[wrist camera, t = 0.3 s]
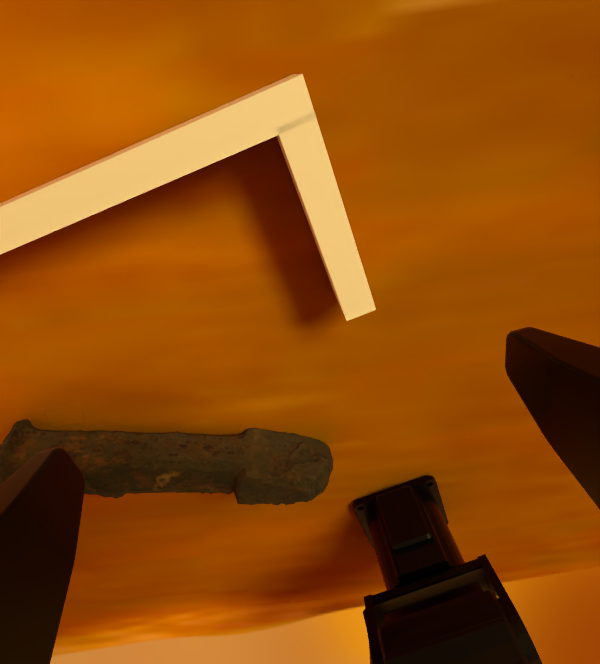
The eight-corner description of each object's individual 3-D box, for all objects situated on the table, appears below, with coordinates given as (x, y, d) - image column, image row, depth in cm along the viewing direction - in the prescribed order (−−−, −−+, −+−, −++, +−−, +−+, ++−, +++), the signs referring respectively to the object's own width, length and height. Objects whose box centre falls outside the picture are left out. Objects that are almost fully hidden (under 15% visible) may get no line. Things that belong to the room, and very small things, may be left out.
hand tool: (26, 457, 26) (-10, 524, 22) (17, 409, 24) (-25, 473, 20) (317, 466, 30) (329, 525, 26) (330, 425, 28) (345, 482, 24)
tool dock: (360, 283, 23) (376, 309, 20) (-71, 452, 25) (-106, 495, 22) (292, 74, 17) (302, 74, 15) (-250, 313, 19) (-323, 348, 17)
